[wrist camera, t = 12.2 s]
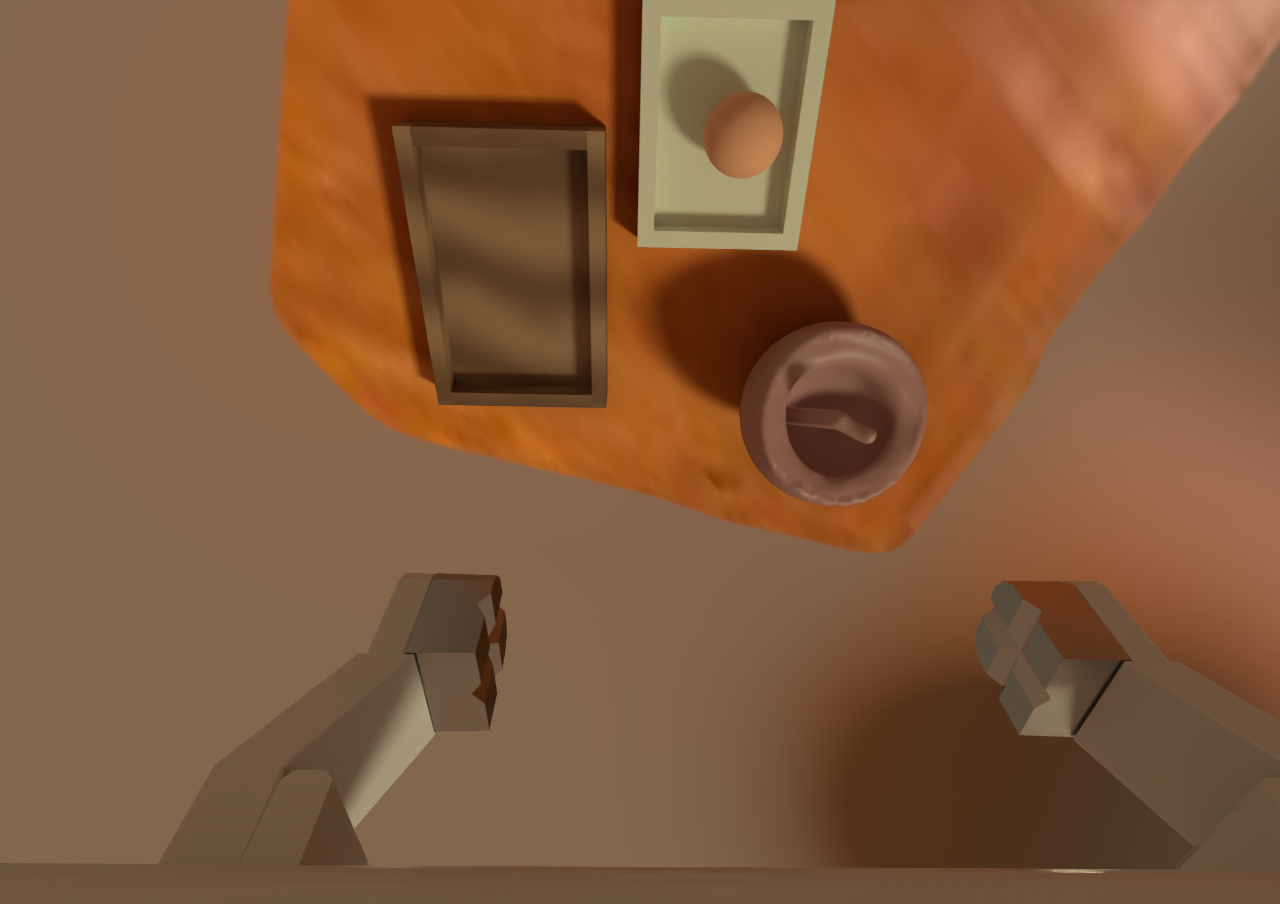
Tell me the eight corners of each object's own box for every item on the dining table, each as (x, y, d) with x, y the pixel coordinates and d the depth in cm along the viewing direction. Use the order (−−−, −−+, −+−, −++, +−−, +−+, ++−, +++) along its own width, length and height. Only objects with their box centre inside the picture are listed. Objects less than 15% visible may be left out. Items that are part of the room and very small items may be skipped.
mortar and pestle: (928, 333, 46) (1004, 415, 37) (836, 461, 52) (880, 559, 43) (781, 266, 43) (822, 336, 34) (701, 409, 50) (717, 503, 40)
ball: (688, 172, 39) (722, 187, 35) (693, 87, 36) (730, 95, 33) (753, 169, 40) (792, 183, 37) (762, 87, 38) (804, 95, 34)
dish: (403, 121, 38) (391, 126, 37) (606, 126, 39) (604, 131, 37) (446, 390, 48) (438, 404, 47) (607, 393, 49) (606, 407, 47)
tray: (642, -7, 35) (642, -8, 33) (826, -2, 35) (836, -3, 34) (637, 237, 42) (637, 246, 41) (790, 241, 42) (796, 250, 41)
